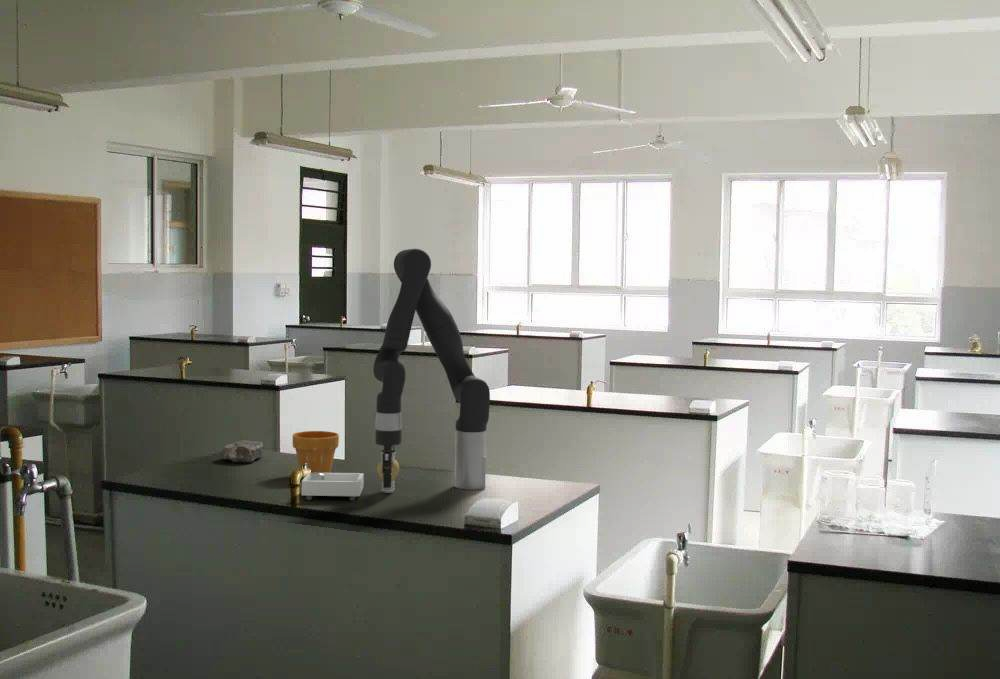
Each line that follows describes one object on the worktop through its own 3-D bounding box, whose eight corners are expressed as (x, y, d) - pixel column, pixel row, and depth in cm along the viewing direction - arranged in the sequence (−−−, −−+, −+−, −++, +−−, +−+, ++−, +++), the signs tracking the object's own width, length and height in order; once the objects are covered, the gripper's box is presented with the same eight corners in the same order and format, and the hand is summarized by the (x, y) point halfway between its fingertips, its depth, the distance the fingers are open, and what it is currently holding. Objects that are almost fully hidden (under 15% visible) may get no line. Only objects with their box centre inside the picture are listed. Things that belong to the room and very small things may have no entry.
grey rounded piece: (325, 486, 286) (325, 472, 286) (323, 489, 282) (323, 475, 282) (311, 485, 286) (311, 472, 286) (309, 488, 282) (309, 474, 282)
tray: (363, 492, 291) (363, 473, 291) (359, 501, 279) (359, 482, 279) (308, 491, 290) (308, 472, 290) (301, 500, 278) (301, 481, 278)
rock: (238, 455, 344) (215, 464, 329) (238, 437, 343) (214, 445, 329) (271, 457, 340) (249, 466, 326) (271, 438, 340) (248, 446, 325)
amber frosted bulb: (395, 495, 287) (395, 460, 286) (373, 493, 288) (374, 459, 287) (401, 490, 293) (402, 456, 292) (380, 488, 294) (381, 455, 293)
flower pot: (310, 469, 322) (310, 429, 321) (347, 474, 315) (347, 433, 315) (282, 477, 309) (283, 435, 308) (320, 482, 303) (320, 439, 302)
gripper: (400, 431, 282) (399, 490, 283) (402, 423, 296) (402, 479, 297) (373, 431, 282) (373, 490, 283) (377, 423, 296) (377, 479, 297)
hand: (388, 484), depth 290 cm, fingers closed on amber frosted bulb, 6 cm apart
